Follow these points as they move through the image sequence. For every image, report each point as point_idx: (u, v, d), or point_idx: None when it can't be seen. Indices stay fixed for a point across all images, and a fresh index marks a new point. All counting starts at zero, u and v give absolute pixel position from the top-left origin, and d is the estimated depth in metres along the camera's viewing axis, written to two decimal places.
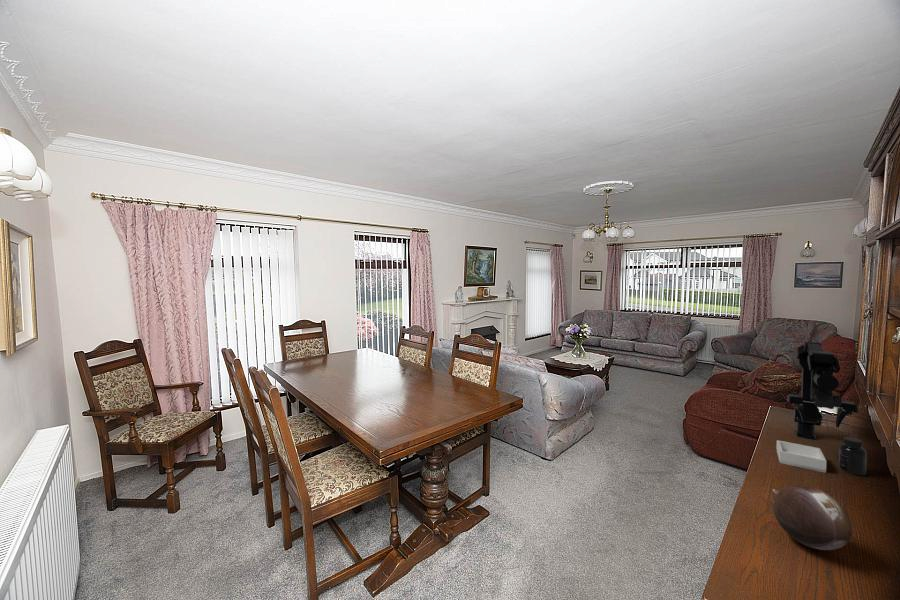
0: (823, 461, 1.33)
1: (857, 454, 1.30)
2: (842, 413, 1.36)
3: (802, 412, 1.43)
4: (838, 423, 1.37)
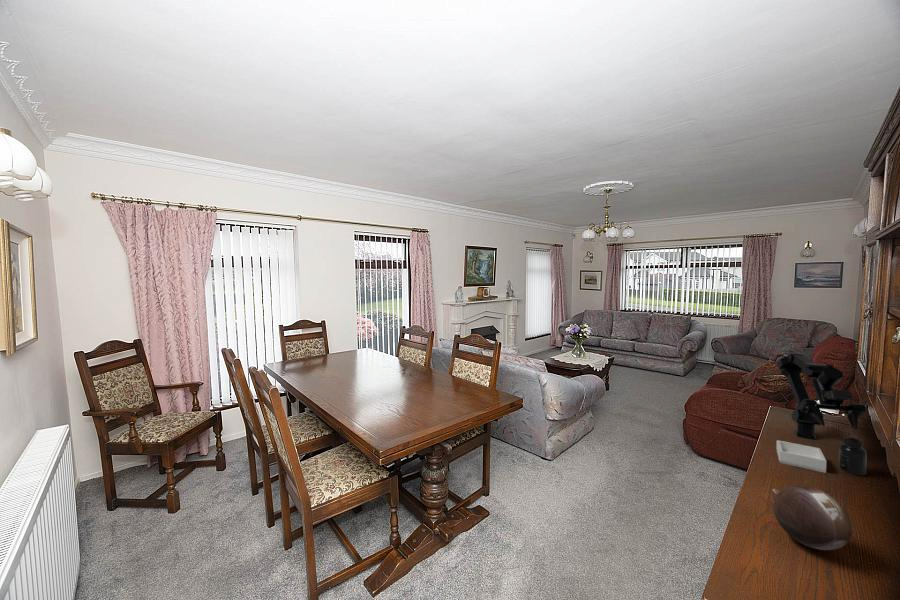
0: (823, 461, 1.33)
1: (857, 454, 1.30)
2: (855, 412, 1.40)
3: (819, 414, 1.44)
4: (855, 424, 1.39)
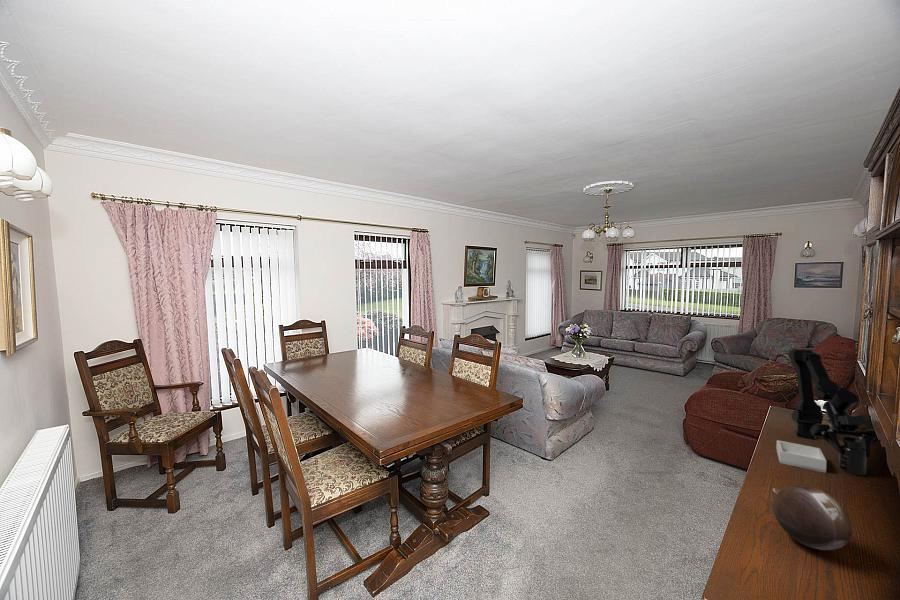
0: (823, 461, 1.33)
1: (857, 454, 1.30)
2: (867, 438, 1.32)
3: (836, 441, 1.35)
4: (867, 451, 1.31)
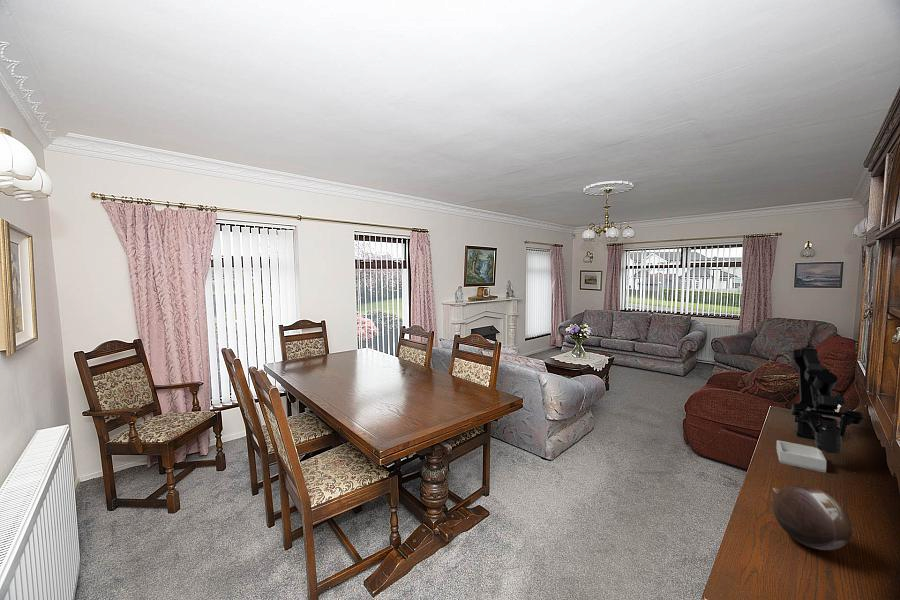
0: (823, 461, 1.33)
1: (829, 432, 1.33)
2: (844, 418, 1.34)
3: (812, 420, 1.39)
4: (843, 430, 1.33)
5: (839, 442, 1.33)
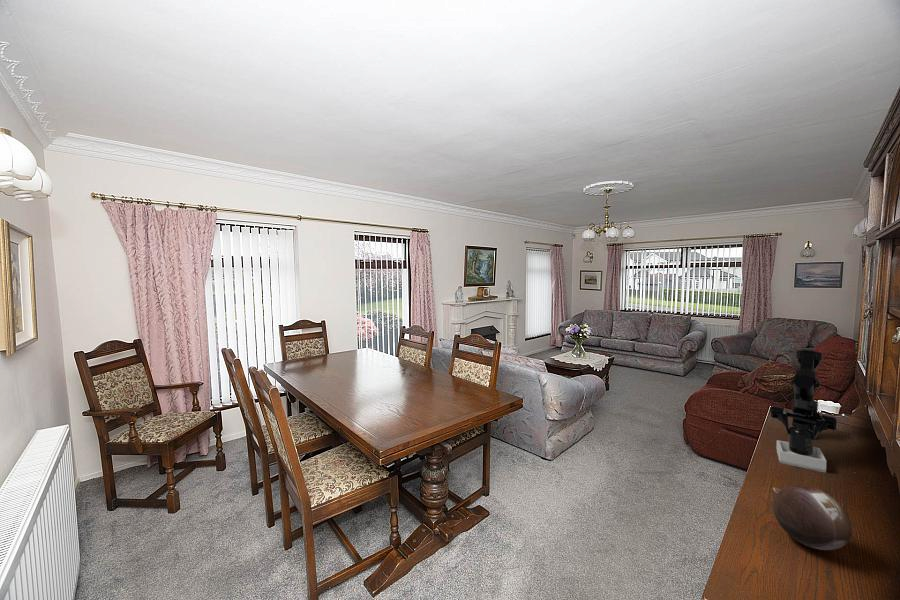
0: (823, 461, 1.33)
1: (799, 435, 1.39)
2: (817, 422, 1.38)
3: (786, 422, 1.44)
4: (814, 434, 1.38)
5: (809, 445, 1.38)
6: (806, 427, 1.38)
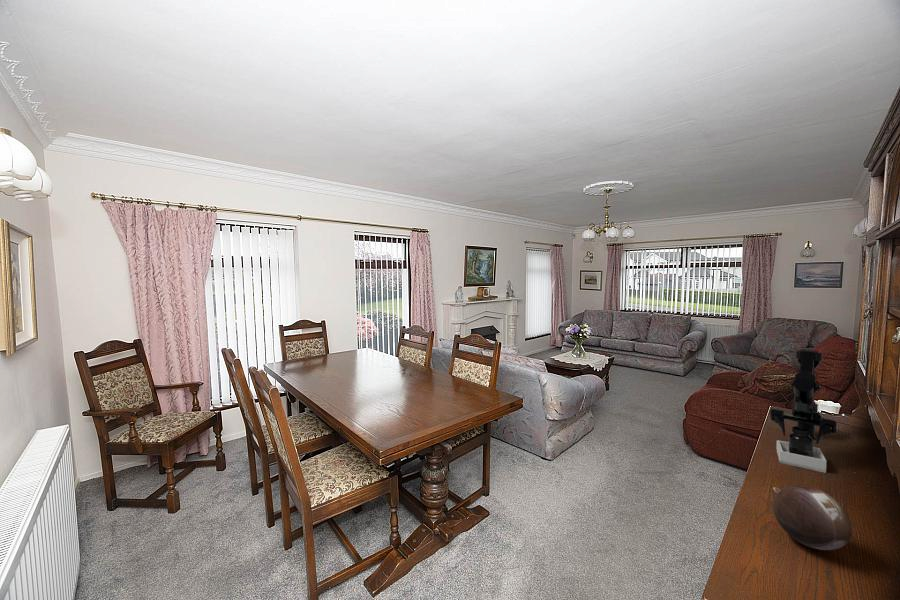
0: (823, 461, 1.33)
1: (798, 441, 1.39)
2: (821, 426, 1.37)
3: (782, 424, 1.45)
4: (818, 438, 1.37)
5: (809, 451, 1.38)
6: (806, 433, 1.38)
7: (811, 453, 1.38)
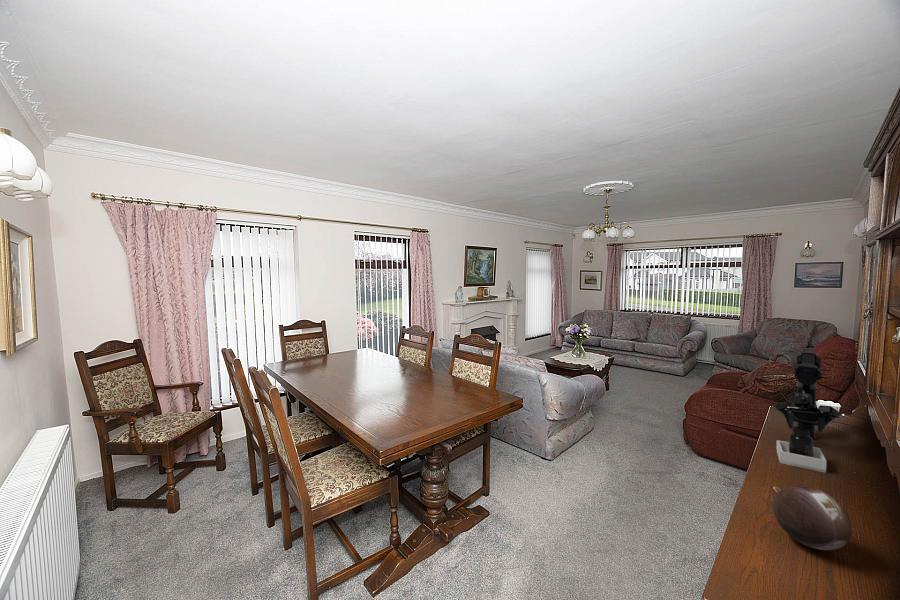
0: (823, 461, 1.33)
1: (799, 441, 1.39)
2: (819, 414, 1.43)
3: (787, 418, 1.53)
4: (818, 426, 1.43)
5: (809, 451, 1.38)
6: (806, 433, 1.38)
7: (811, 453, 1.38)
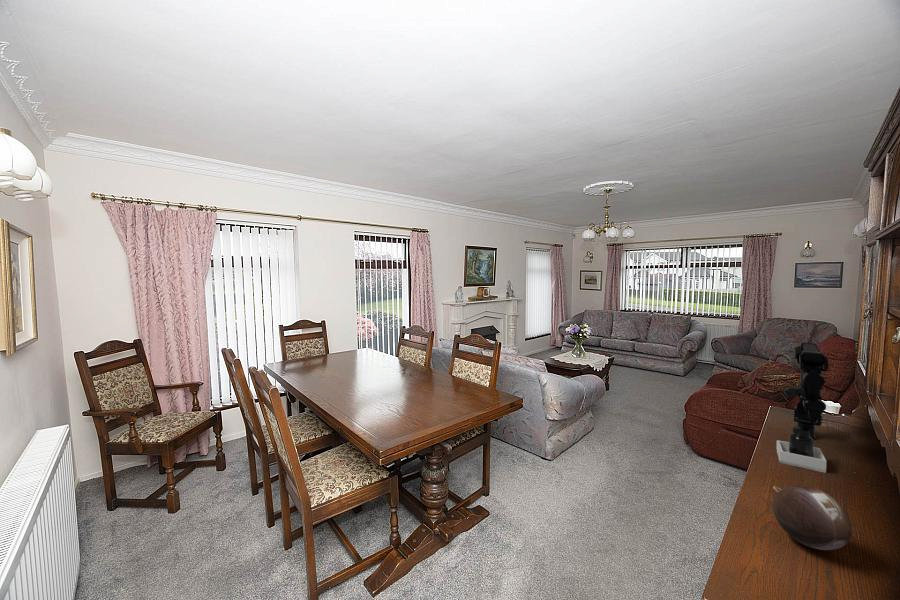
0: (823, 461, 1.33)
1: (799, 441, 1.39)
2: None
3: None
4: (809, 418, 1.46)
5: (809, 451, 1.38)
6: (806, 434, 1.38)
7: (811, 453, 1.38)
